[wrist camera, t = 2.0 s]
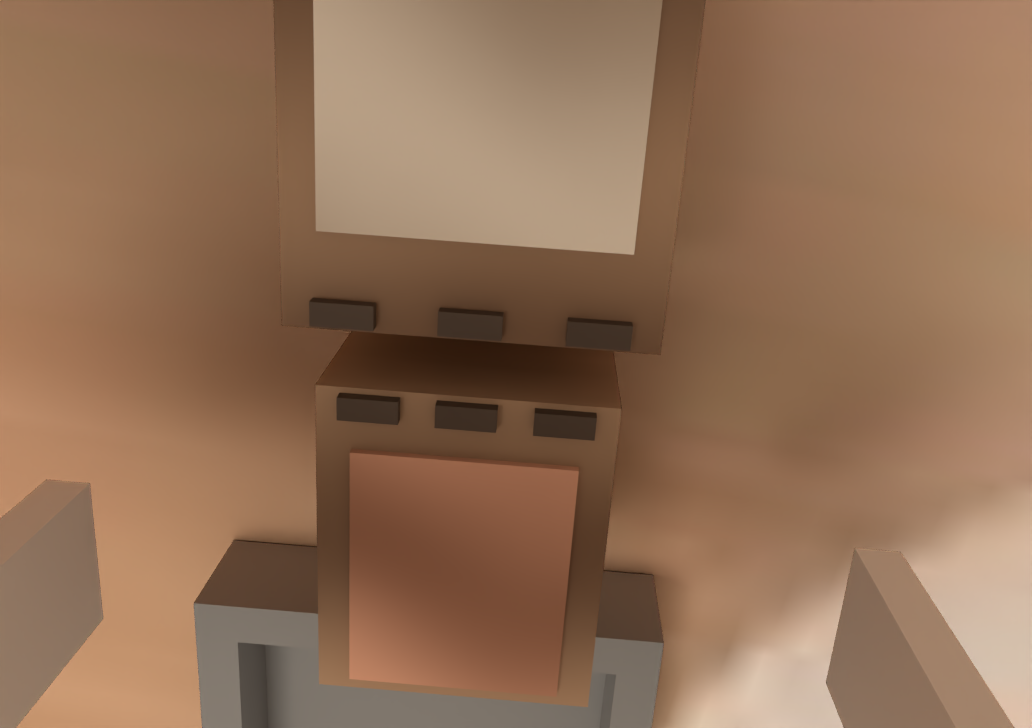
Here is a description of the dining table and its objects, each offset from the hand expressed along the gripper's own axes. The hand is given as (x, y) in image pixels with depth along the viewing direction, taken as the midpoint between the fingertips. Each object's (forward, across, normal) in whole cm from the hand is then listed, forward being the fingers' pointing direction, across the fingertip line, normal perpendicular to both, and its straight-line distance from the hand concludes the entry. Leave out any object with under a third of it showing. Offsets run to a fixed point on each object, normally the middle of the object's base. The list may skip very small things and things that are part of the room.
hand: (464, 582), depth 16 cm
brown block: (+7, 0, 0) cm, 7 cm away
